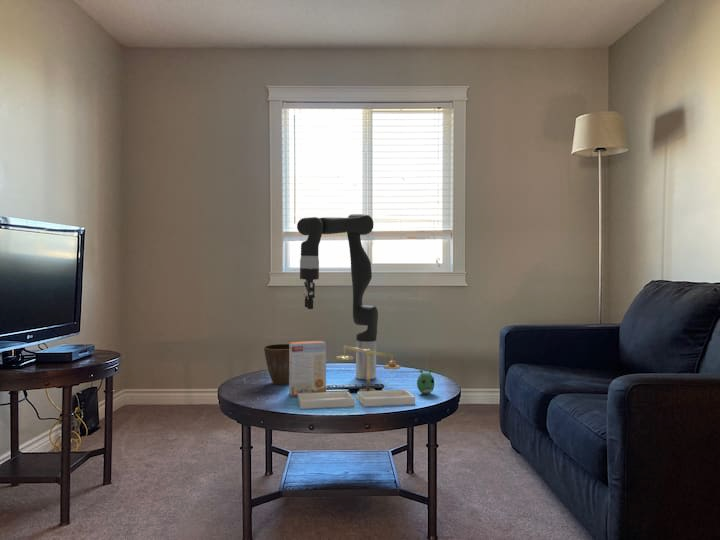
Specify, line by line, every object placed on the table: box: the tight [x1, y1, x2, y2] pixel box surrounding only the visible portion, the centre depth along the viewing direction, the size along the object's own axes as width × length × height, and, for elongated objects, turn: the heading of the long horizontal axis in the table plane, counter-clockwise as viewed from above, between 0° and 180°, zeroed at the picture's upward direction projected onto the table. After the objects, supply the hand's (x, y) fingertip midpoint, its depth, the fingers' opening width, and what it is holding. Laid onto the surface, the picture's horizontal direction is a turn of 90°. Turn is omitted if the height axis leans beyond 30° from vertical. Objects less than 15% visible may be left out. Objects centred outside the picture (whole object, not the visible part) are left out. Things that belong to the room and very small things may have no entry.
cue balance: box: [335, 345, 402, 392], centre depth 209 cm, size 7×27×20 cm, turn 102°
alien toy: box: [416, 368, 435, 395], centre depth 210 cm, size 7×8×10 cm
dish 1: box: [297, 390, 355, 410], centre depth 194 cm, size 12×20×3 cm, turn 102°
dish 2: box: [356, 389, 416, 407], centre depth 198 cm, size 12×20×3 cm, turn 102°
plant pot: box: [263, 343, 289, 386], centre depth 226 cm, size 15×15×16 cm
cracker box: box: [288, 340, 327, 398], centre depth 207 cm, size 14×6×21 cm, turn 110°
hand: (308, 308), depth 207 cm, fingers open, 8 cm apart
